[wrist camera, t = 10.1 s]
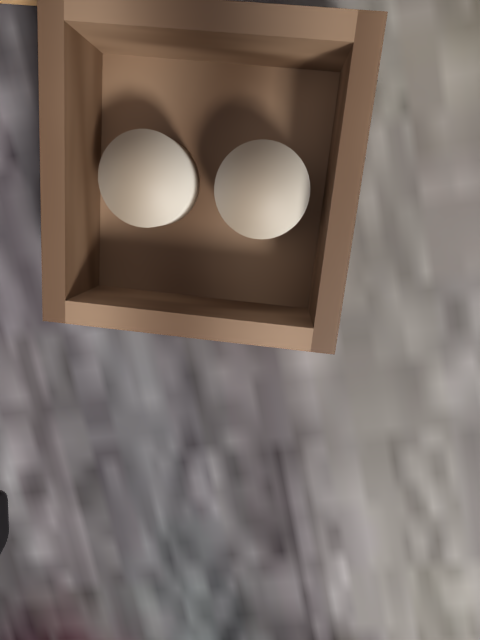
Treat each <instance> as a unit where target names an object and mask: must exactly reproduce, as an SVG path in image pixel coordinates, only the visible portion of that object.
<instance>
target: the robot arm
mask: <svg viewBox="0 0 480 640" xmlns="http://www.w3.org/2000/svg"><path fill="white" fill-rule="evenodd" d="M8 534H9V519H8V499H7V495H6V493H5V492H4V491H2V490H0V554H1V552H2V550H3V548H4V546H5V544H6V541H7V538H8Z"/></svg>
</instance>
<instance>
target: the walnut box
mask: <svg viewBox="0 0 480 640" xmlns="http://www.w3.org/2000/svg"><path fill="white" fill-rule="evenodd" d="M387 13H388V12H384V11H370V10H356V9H342V8H328V7H314V6H300V5H285V4H271V3H257V2H243V1H229V0H37V20H38V77H39V134H40V192H41V249H42V307H43V321H49V322H58V323H66V324H75V325H84V326H92V327H101V328H110V329H118V330H127V331H136V332H144V333H153V334H162V335H170V336H179V337H188V338H196V339H205V340H214V341H222V342H231V343H240V344H248V345H257V346H265V347H274V348H283V349H291V350H300V351H309V352H317V353H326V354H335V349H336V342H337V336H338V329H339V323H340V317H341V310H342V304H343V297H344V291H345V284H346V278H347V271H348V265H349V258H350V252H351V245H352V239H353V233H354V226H355V220H356V213H357V207H358V200H359V194H360V187H361V181H362V174H363V168H364V161H365V155H366V149H367V142H368V136H369V129H370V123H371V116H372V110H373V103H374V97H375V90H376V84H377V77H378V71H379V65H380V58H381V52H382V45H383V39H384V32H385V26H386V19H387Z"/></svg>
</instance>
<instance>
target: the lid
mask: <svg viewBox="0 0 480 640" xmlns="http://www.w3.org/2000/svg"><path fill="white" fill-rule="evenodd" d="M0 3H3V4H17V5H31V6H37V0H0Z"/></svg>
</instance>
